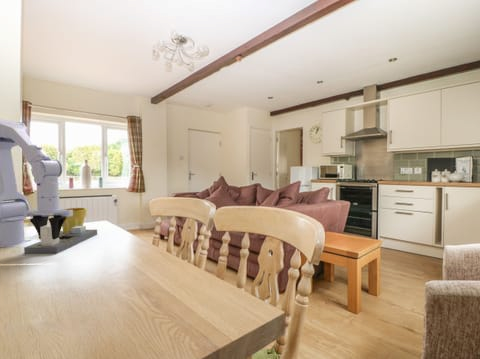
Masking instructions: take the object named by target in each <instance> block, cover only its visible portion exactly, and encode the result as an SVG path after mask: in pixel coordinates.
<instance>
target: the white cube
mask: <svg viewBox="0 0 480 359" xmlns="http://www.w3.org/2000/svg"><path fill="white" fill-rule="evenodd" d="M86 230H87V229H86V225H83V226H75V227H73V228H71V234H81V233H84V232H86Z"/></svg>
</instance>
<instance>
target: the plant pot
mask: <svg viewBox="0 0 480 359" xmlns="http://www.w3.org/2000/svg"><path fill="white" fill-rule="evenodd" d="M62 210H73V216H70V217H66V220H65V221H64V223H63V225H62V228H61V229H62V232H63V233H65V232H67V231H70V230H71V228H73V227H75V226H84V222H85V217H87V208H86V207H70V208H62Z"/></svg>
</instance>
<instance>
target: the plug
mask: <svg viewBox="0 0 480 359" xmlns="http://www.w3.org/2000/svg"><path fill="white" fill-rule="evenodd" d="M40 235H41V239H40V242H41V246H53V245H55V244H58V243H59V238H57V239H53V238H52V229H51V225H50V224H47V225H45V226H42V227H40Z"/></svg>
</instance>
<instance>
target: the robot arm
mask: <svg viewBox="0 0 480 359" xmlns="http://www.w3.org/2000/svg"><path fill="white" fill-rule="evenodd" d="M17 146H18V147H19V148H20V149H21V150H22V151H21V152H22V153H21V154H22V157H24V159H25V161H27V162H28V164H29V165H30V167H31V169H30V170H31V174H32V177H33V182H34V183H35V184H36V208H37V209H31V206H30V203H29V202H28V199H27V196H26V195H24V194H23V193H21V192H20V191H18V186H17V185H18V184H17V179H16V173H15V167H14V166H15V165H14V159H13V154H12V149H13V148H15V147H17ZM62 173H63V165H62V163H61V162H60V160H58V159H54V158H51V156H49V154H48V153H47V152H46V151H45V150H44V149H43V147H42V146H41V145H40V144H39V145H38V144H35V143H34V142H33V140H31V138H30V136H29V135H28V127H27V126H26V125H25V123H23V122H21V121H14V120H13V121H12V120H5V119H0V248H14V247H17V246H20V245H23V244H26V243H28V242H31V239H30V240H29V239H25V221H24V220H25V219H27V218H28V217H31V218H30V219H29V222H30V223H31V224H32V225H33V227H34V228H35V230H36V233H37V235H38V238H39V240H41V235H40V227H42V226H45V225H48V222H49V225H51V229H52V238H53V239H57V238H59V234H61V231H62V229H63V228H62V225H63V223H64V221H65V220H66V217H70V216H73V210H62V209H63V208H62V209H60V196H59V192H60V190H59V177H60V176H61V175H62Z"/></svg>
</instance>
